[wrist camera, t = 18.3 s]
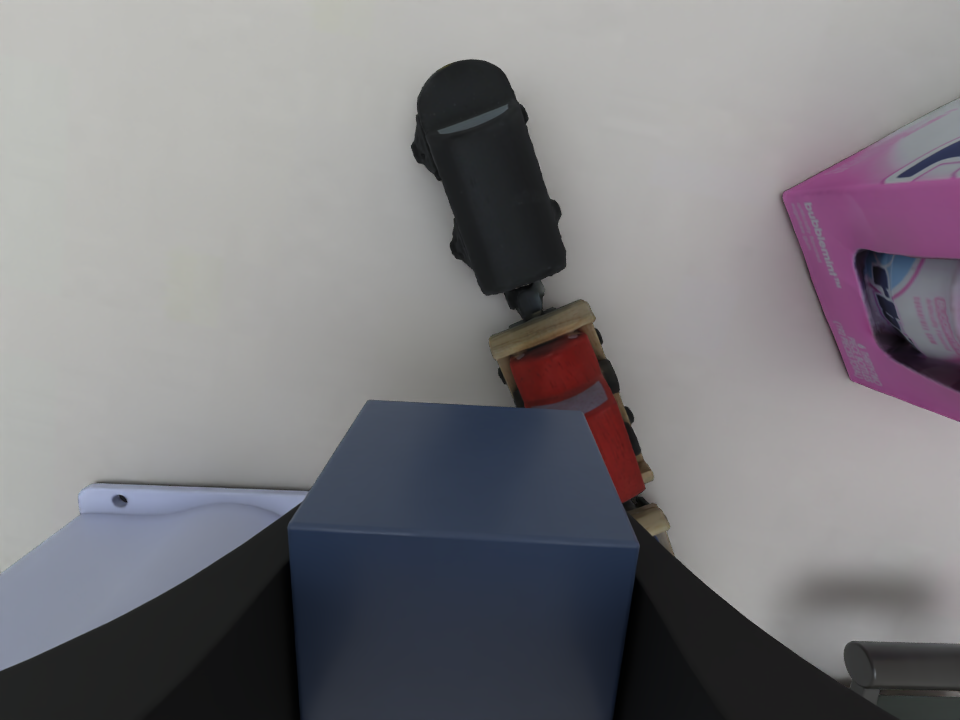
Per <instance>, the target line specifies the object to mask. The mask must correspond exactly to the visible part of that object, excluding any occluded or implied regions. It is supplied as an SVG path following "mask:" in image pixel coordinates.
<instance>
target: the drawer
mask: <svg viewBox="0 0 960 720" xmlns="http://www.w3.org/2000/svg"><path fill="white" fill-rule="evenodd" d="M844 661H845V665H846V668H847V671H848V673H849V675H850V676H851V678H852V681H851V685H850V689H851V690H852V691H854V692H856V693H857V694H859V695H860V696H862V697H864V698H865V699H867V700H869V701H870V702H872V703H873V704H875V705H877V706H878V707H880V708H881V709H883V710H885V711H887V712H888V713H890V714H892V715H893V716H895V717H897V718H899V719H900V720H960V697H935V696H887V695H879V694H880V689H902V690H949V691H960V644H944V643H905V642H866V641H852V642H849V643H848V644H847V645H846V646H845V649H844Z"/></svg>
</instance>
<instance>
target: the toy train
mask: <svg viewBox="0 0 960 720" xmlns="http://www.w3.org/2000/svg"><path fill="white" fill-rule="evenodd" d="M417 112H418V114H417V115H416V122H417V126H416V132H415V139H414V141H413V143H412V145H411V148H412V151H413V154H414V157H415V159H416V161H417V162H418V163H420V164H423V165H425V167H426V168H427V169H428V170H429V171H430V172H432V173H433V174H434V175H435V177H436V178H437V180H438V181H441V180H442V183H443V186H444V189H445V192H446V195H447V197H448V200H449V203H450V206H451V209H452V211H453V214H454V217H455V218H454V229H453V233H452V234H453V238H452V241H451V242H450V249H451V251H452V254H453V255H454V256H455V258H456V259H460V260H462V261H463V262H464V263H466V264H467V265H468V266H469V267H470V268H471V269H472V270H473V271H474V272H475V276H476V278H477V282H478V285H479V287H480V288H481V291H482V292H483V294H485V295H486V296H489V295H494V294H498V293H504V295H505V297H506V300H507V302H508V304H509V307H510V309H512V310H514V309H515V308H516V310H517V311H518V313H519V314H520V315H521V317H522V318H523V320H521V321H519V322H517V323H514V324H512V325H510V326H509V329H507V330H505V331H502V332H499V333H497V334H494V335H492V336H491V337H490V338H489V346H490V350H491V353H492V356H493V358H494V359H495V360H497V362H498V364H499V366H500V367H499V368H498V374H499V376H500V378H501V379H502V381H503V383H504V384H507V385H508V387H509V390H510V392H511V394H512V397H513V399H514V403H515V405H516V408H534V409H554V410H573V411H581V412H583V413H584V416H585V418H586V420H587V423H588V425H589V427H590V430H591V432H592V434H593V437H594V439H595V441H596V444H597V446H598V448H599V451H600V453H601V455H602V458H603V460H604V463H605V465H606V467H607V470H608V472H609V474H610V477H611V479H612V481H613V484H614V486H615V488H616V491H617V493H618V495H619V498H620V500H621V502H622V505H623V507H624V509H625V510H626V511H627V512H628V513H629V514H630V515H631V516H632V517H633V518H634V519H636V520H637V521H638V522H639V523H640V524H641V525H642V526H643V527H644V528H645V529H646V530H647V531H648V532H649V533H650V534H651V535H652V536H653V537H654V538H655V539H656V540H657V541H658V542H659V543H660V544H661V545H663V546H664V547H665V548H666V549H667V550H668V551H669V552H670V553H671V554H672V555H673V556H674V553H673V550H672V547H671V544H670V541H669V538H668V535H667V532H666V531H668V530H669V529H670V525H669V522H668V520H667V518H666V516H665V515H664V513H663V511H662V510H661V509H660V508H658V506H657V505H656V504H655V503H651V504H649V503H648V502H647V501H646V500H645V499H644V498H643V497H641V496H638V497H636V501H637V505H634V504H633V502H632V501H631V498H633V497H635V496H636V495H638V494H640V493H641V492H643V491H644V490H645V489H646V488H645V485H644V484H645V483H648V482H650V481H653V479H654V475H653V472H652V470H651V469H650V467H649V466H648V464H647V463H646V462H645V461H644V459H643V456H642V453H641V448H640V446H639V443H638V440H637V437H636V435H635V433H634V431H633V429H632V427H631V424H632V423H633V422H634V416H633V414H632V412H631V410H630V409H629V408H628V407H626V406H624V405H623V403H622V400H621V397H620V395H619V391H620V388H619V383H618V379H617V376H616V374H615V371H614V369H613V367H612V365H611V363H610V361H609V360H607V359H606V357H605V354H604V352H603V349H602V346H601V344H602V343H603V340H602V337H601V334H600V332H599V331H598V329H596V328H594V325H593V322H594V321H595V319H596V318H595V316H594V314H593V312H592V310H591V308H590V306H589V304H588V303H587V302H585V301H584V300H581V299H580V300H577V301H574V302H572V303H570V304H568V305H565V306H563V307H561V308H558V309H556V308H553V307H552V308H550V309H547V310H545V311H543V310H542V309H543V307H542V299H543V296H544V292H545V290H544V286H543V284H542V282H541V279H544V278H546V277H548V276H552V275H553V274H555V273H558V272H560V271H561V270H563V269H564V268H565V267H566V250H565V247H564V245H563V242H562V240H561V235H560V233H559V229H558V226H557V225H558V221H559V219H560V217H561V215H562V214H561V210H560V207H559V205H558V203H557V202H556V201H555V200H552V199H550V198H549V196H548V193H547V189H546V187H545V184H544V181H543V178H542V173H541V171H540V167H539V164H538V161H537V158H536V155H535V152H534V148H533V144H532V142H531V139H530V137H529V134H528V129H527V126H526V123H527V121H528V115H527V112H526V110H525V108H524V107H523V106H522V105H521V104H519V102H518V101H517V100H516V97H515V94H514V91H513V89H512V88H511V85H510V83H509V81H508V79H507V77H506V75H505V73H504V72H503V71H502V70H501V69H500V68H498V67H497V66H495V65H493V64H491V63H489V62H486V61H483V60H473V59H470V60H462V61H457V62H453V63H451V64H448V65H446V66H444V67H442V68H441V69H439V70H437V71H436V72H435V73H434V74H433V75H432V76H431V77H430V78H429V79H428V80H427V81H426V83H425V84H424V86H423V87H422V90H421V92H420V94H419V96H418V100H417ZM527 284H529V285H527ZM523 285H526V286H523ZM520 286H522V287H520ZM518 287H520V288H518ZM516 288H518V289H516ZM674 557H675V556H674Z"/></svg>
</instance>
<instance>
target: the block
mask: <svg viewBox="0 0 960 720" xmlns="http://www.w3.org/2000/svg"><path fill="white" fill-rule="evenodd" d="M287 529H288V544H289V558H290V573H291V588H292V603H293V618H294V633H295V648H296V663H297V678H298V693H299V708H300V720H613V716H614V709H615V703H616V696H617V690H618V683H619V677H620V671H621V664H622V658H623V651H624V645H625V638H626V632H627V625H628V619H629V612H630V606H631V600H632V593H633V587H634V580H635V574H636V567H637V561H638V554H639V548H640V545H639V542H638V540H637V537H636V535H635V533H634V530H633V528H632V526H631V523H630V521H629V519H628V516H627V514H626V512H625V509H624V507H623V505H622V502H621V500H620V498H619V495H618V493H617V491H616V488H615V486H614V484H613V481H612V479H611V477H610V474H609V472H608V470H607V467H606V465H605V463H604V460H603V458H602V455H601V453H600V451H599V448H598V446H597V444H596V441H595V439H594V437H593V434H592V432H591V430H590V427H589V425H588V423H587V420H586V418H585V416H584V413H583V412H581V411H573V410H554V409H534V408H515V407H496V406H477V405H458V404H439V403H419V402H400V401H381V400H368V401H367V402H366V403H365V405H364V406H363V408H362V409H361V411H360V412H359V414H358V416H357V417H356V419H355V420H354V422H353V423H352V425H351V427H350V428H349V430H348V431H347V433H346V434H345V436H344V438H343V439H342V441H341V442H340V444H339V445H338V447H337V448H336V450H335V452H334V453H333V455H332V456H331V458H330V459H329V461H328V463H327V464H326V466H325V467H324V469H323V470H322V472H321V474H320V475H319V477H318V478H317V480H316V481H315V483H314V485H313V486H312V488H311V489H310V491H309V492H308V494H307V495H306V497H305V499H304V500H303V502H302V503H301V505H300V506H299V508H298V510H297V511H296V513H295V514H294V516H293V517H292V519H291V521H290V522H289V524H288V527H287Z"/></svg>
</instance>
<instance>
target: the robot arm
mask: <svg viewBox="0 0 960 720" xmlns="http://www.w3.org/2000/svg"><path fill="white" fill-rule="evenodd" d="M308 492H309V491H294V490H267V489H240V488H213V487H186V486H159V485H131V484H104V483H94V484H90V485H88V486H87V487H85V488H84V489H82V490H81V491H80V493H79V494H78V503H79V510H80V515H79V516H77V517H76V518H75V519H73V520H72V521H71V522H69V523H68V524H67V525H65V526H64V527H63V528H61V529H60V530H59V531H57V532H56V533H54V534H53V535H52V536H50V537H49V538H48V539H46V540H45V541H44V542H42V543H41V544H40V545H38V546H37V547H36V548H34V549H33V550H32V551H30V552H29V553H28V554H26V555H25V556H23V557H22V558H21V559H19V560H18V561H17V562H15V563H14V564H13V565H11V566H10V567H9V568H7V569H6V570H5V571H3V572H2V573H1V574H0V720H300V708H299V693H298V678H297V663H296V648H295V633H294V618H293V603H292V588H291V573H290V558H289V544H288V529H287V527H288V524H289V522H290V521H291V519H292V517H293V516H294V514H295V513H296V511H297V510H298V508H299V506H300V505H301V503H302V502H303V500H304V499H305V497H306V495H307V494H308ZM119 495H122V496H124V497H125V498H126V499H127V502H123V501H122V500H121V499H120V497H119ZM625 512H626V514H627V516H628V519H629V521H630V523H631V526H632V528H633V530H634V533H635V535H636V537H637V540H638V542H639V545H640V548H639V554H638V561H637V567H636V574H635V580H634V587H633V593H632V600H631V606H630V612H629V619H628V625H627V632H626V638H625V645H624V651H623V658H622V664H621V671H620V677H619V683H618V690H617V696H616V703H615V709H614V716H613V720H900V719H899V718H897V717H895V716H893V715H892V714H890V713H888V712H887V711H885V710H883V709H881V708H880V707H878V706H877V705H875V704H873V703H872V702H870V701H869V700H867V699H865V698H864V697H862V696H860V695H859V694H857V693H856V692H854V691H852V690H851V689H849V688H847V687H846V686H844V685H843V684H841V683H839V682H838V681H836V680H834V679H833V678H831V677H830V676H828V675H827V674H825V673H824V672H822V671H821V670H819V669H818V668H816V667H815V666H813V665H812V664H810V663H808V662H807V661H806V660H804V659H803V658H801V657H800V656H798V655H797V654H796V653H794V652H793V651H791V650H790V649H788V648H787V647H786V646H784V645H783V644H781V643H780V642H779V641H777V640H776V639H774V638H773V637H772V636H770V635H769V634H767V633H766V632H765V631H763V630H762V629H760V628H759V627H758V626H756V625H755V624H754V623H753V622H751V621H750V620H749V619H747V618H746V617H745V616H743V615H742V614H741V613H740V612H738V611H737V610H736V609H735V608H733V607H732V606H731V605H730V604H729V603H727V602H726V601H725V600H724V599H722V598H721V597H720V596H719V595H718V594H716V593H715V592H714V591H713V590H711V589H710V588H709V587H708V586H707V585H706V584H704V583H703V582H702V581H701V580H700V579H699V578H698V577H696V576H695V575H694V574H693V573H692V572H691V571H690V570H689V569H687V568H686V567H685V566H684V565H683V564H682V563H681V562H680V561H679V560H678V559H676V558H675V557H674V556H673V555H672V554H671V553H670V552H669V551H668V550H667V549H666V548H665V547H664V546H663V545H661V544H660V543H659V542H658V541H657V540H656V539H655V538H654V537H653V536H652V535H651V534H650V533H649V532H648V531H647V530H646V529H645V528H644V527H643V526H642V525H641V524H640V523H639V522H638V521H637V520H636V519H634V518H633V517H632V516H631V515H630V514H629V513H628V512H627V511H626V510H625Z"/></svg>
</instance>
